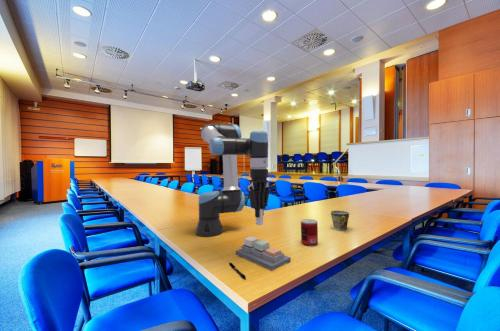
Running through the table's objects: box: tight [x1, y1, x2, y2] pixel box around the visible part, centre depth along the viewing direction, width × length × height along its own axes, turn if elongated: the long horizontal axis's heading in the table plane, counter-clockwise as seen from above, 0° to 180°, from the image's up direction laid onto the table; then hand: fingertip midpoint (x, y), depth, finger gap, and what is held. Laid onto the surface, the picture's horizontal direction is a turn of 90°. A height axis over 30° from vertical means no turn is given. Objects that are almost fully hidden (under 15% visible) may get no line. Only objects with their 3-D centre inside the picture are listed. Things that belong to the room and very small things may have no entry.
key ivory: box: [243, 235, 260, 247], centre depth 94 cm, size 4×4×2 cm
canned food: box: [300, 218, 319, 247], centre depth 105 cm, size 8×8×11 cm
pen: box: [228, 261, 247, 281], centre depth 79 cm, size 14×2×1 cm, turn 28°
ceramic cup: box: [330, 210, 350, 232], centre depth 126 cm, size 13×10×10 cm
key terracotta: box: [265, 247, 282, 257], centre depth 85 cm, size 4×4×2 cm
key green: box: [254, 239, 270, 251], centre depth 90 cm, size 4×4×2 cm
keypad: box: [235, 243, 291, 271], centre depth 90 cm, size 21×11×4 cm, turn 43°
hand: (259, 224), depth 91 cm, fingers closed
